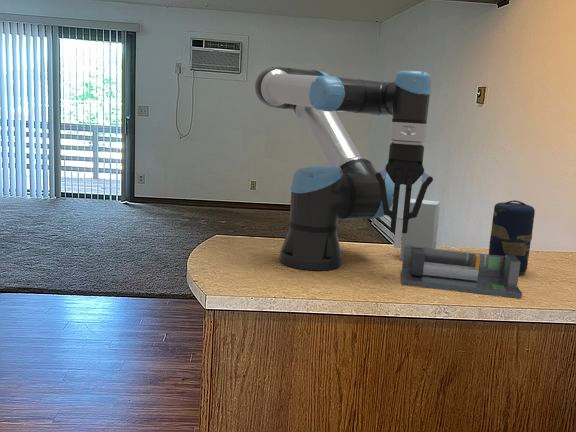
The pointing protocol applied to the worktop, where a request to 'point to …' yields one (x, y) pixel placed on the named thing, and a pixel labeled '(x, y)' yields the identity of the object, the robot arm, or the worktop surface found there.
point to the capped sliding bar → (443, 268)
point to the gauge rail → (492, 268)
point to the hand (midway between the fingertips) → (397, 246)
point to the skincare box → (422, 226)
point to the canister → (512, 231)
